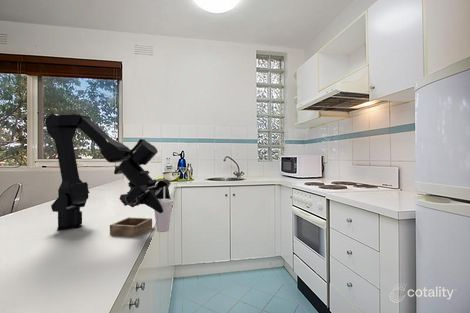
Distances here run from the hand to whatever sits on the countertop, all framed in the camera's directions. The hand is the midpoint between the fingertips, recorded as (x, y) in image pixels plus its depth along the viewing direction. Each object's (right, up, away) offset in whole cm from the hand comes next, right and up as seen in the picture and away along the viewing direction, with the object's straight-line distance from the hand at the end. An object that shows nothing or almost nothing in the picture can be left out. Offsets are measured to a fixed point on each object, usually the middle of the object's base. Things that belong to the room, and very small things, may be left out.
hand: (167, 209), depth 75 cm
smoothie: (-1, -7, 0) cm, 7 cm away
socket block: (-12, -7, +2) cm, 15 cm away
